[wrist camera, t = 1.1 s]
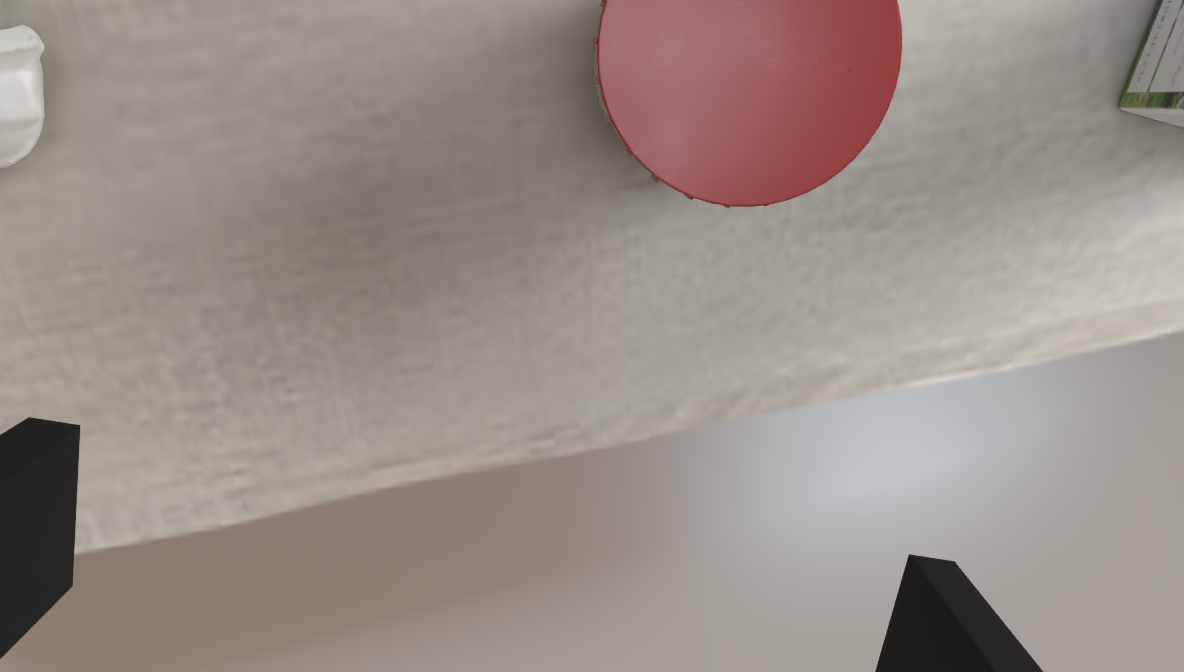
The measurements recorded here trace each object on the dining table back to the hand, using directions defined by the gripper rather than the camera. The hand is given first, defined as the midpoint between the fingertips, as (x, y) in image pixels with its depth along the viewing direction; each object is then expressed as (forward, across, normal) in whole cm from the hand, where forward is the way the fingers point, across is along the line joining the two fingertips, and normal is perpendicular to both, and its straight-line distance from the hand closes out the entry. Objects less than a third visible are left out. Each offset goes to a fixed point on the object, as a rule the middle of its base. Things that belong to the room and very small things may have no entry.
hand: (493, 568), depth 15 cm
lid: (+10, +4, +9) cm, 14 cm away
